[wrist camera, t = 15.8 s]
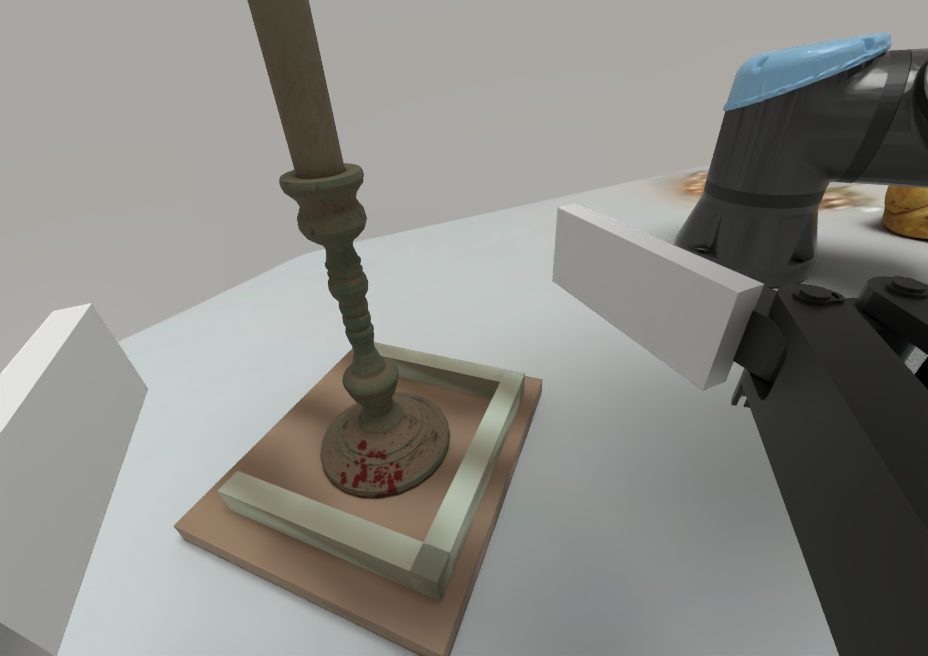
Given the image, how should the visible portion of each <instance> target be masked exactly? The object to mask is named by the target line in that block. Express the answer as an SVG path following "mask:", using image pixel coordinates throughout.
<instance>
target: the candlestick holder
mask: <svg viewBox="0 0 928 656" xmlns="http://www.w3.org/2000/svg"><path fill="white" fill-rule="evenodd" d="M248 3H249V7H250V10H251V14H252V18H253V21H254V25H255V29H256V32H257V36H258V39H259V43H260V47H261V50H262V54H263V57H264V61H265V65H266V68H267V72H268V75H269V79H270V83H271V86H272V90H273V93H274V97H275V101H276V104H277V108H278V112H279V115H280V119H281V122H282V126H283V130H284V133H285V137H286V140H287V143H288V147H289V151H290V155H291V158H292V162H293V166H294V169H295V170H292V171H290V172H287V173H285V174H284V175H282V176H281V177H280V180H279V182H280V186H281V188H282V190H283V192H284V193H285V194H287V195H288V196H290V197H291V198H293V199H294V200H295V201H297V203H298V205H299V206H300V209H299V213H298V216H297V221H298V227H299V230H300V231H301V232H302V234H303V235H304V236H305V237H306V238H307V239H308V240H310V241H312V242H315V243H317V244H320V245H323V246H324V247H325V249H326V262H325V267H326V269H328V272H327V274H328V276H329V280H328V287H329V291H330V292H331V294H332V296H333V297H334V298H335V299H336V300H337V301H338V302H339V309H340V311H341V313H342V315H343V317H342V318H343V323H344V325H345V327H346V331H345V333H346V335H347V337H348V340H349V342H350V343H351V345H352V347H353V351H354V352H353V362H352V364H350V365H349V366H348V368H347V369H346V370H345V372H344V374H343V380H342V383H343V386H344V388H345V389H346V391H347V392H348V393H349V395H350V396H351V397H352V398H353V399H354V401H355V402H356V404H354V405H352V406H350V407H348V408H347V409H346V410H345V411H344V412H342V413H341V414H340V415H339V416H338V417H337V418H336V419H335V420H334V421H333V423H332V424H331V425H330V426H329V428H328V429H327V431H326V434H325V436H324V438H323V440H322V445H321V453H320V458H321V462H322V466H323V471H324V473H325V474H326V476H327V477H328V478H329V480H330V481H331V483H332V484H334V485H335V486H337V487H338V488H339V489H341V490H342V491H344V492H345V493H349V494H352V495H355V496H359V497H369V498H381V497H386V496H391V495H396V494H400V493H402V492H404V491H406V490H409V489H411V488H413V487H415V486H417V485H418V484H420V483H421V482H422V481H424V480H425V479H426V478H428V477H429V476H431V475H432V473H433V472H434V471H435V470H436V469H437V467H438V466H439V465H440V464H441V463H442V461H443V459H444V456H445V454H446V452H447V450H448V447H449V440H450V431H449V426H448V422H447V419H446V417H445V416H444V414H443V412H442V411H441V409H440V408H439V407H438V406H437V405H435V404H434V403H433V402H432V401H431V400H428V399H426V398H424V397H422V396H420V395H416V394H411V393H406V392H395V391H396V387H397V383H398V375H399V372H398V367H397V365H396V364H395V362H393V361H392V360H391V359H389V358H387V357H384V356H381V355H380V354H379V352H378V351H377V349H376V347H375V346H374V332H373V331H374V326H373V325H372V323H371V316H370V313H369V311H368V302H367V299H366V298H365V295H366V293H367V291H368V280H367V277H366V275H365V273H364V272H363V271H362V270H363V268H362V266H361V265H360V262H361V258H360V257H359V256H358V255H357V253H356V251H355V249H354V247H353V240H354V239H355V238H357V237H358V236H359V234H360V233H361V232H362V231H363V230H364V228H365V224H366V220H367V217H366V213H365V210H364V207H363V206H362V205H361V204H360V203H359V202H358V200H357V199H356V193H357V191H358V189H359V187H360V186H361V184H362V183H363V176H364V173H363V170H362V169H361V167H360V166H358V165H355V164H347V163H346V164H345V163H343V159H342V155H341V150H340V145H339V140H338V136H337V131H336V126H335V122H334V117H333V112H332V107H331V103H330V98H329V93H328V89H327V84H326V80H325V75H324V70H323V65H322V61H321V56H320V51H319V47H318V42H317V37H316V33H315V28H314V23H313V19H312V14H311V9H310V5H309V0H248Z"/></svg>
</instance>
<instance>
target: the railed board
mask: <svg viewBox="0 0 928 656" xmlns="http://www.w3.org/2000/svg"><path fill="white" fill-rule="evenodd" d="M374 346H375V347H376V349H377V351H378V352H379V354H380V355H381V356H384V357H387V358H389V359H391V360H392V361H393V362H395V364H396V365H397V367H398V372H399V375H398V383H397V387H396V391H395V392H406V393H411V394H416V395H420V396H422V397H424V398H426V399H428V400H431V401H432V402H433V403H434V404H435V405H437V406H438V407H439V408H440V409H441V411H442V412H443V414H444V416H445V417H446V419H447V422H448V426H449V431H450V440H449V447H448V450H447V452H446V454H445V456H444V459H443V461H442V463H441V464H440V465H439V466H438V467H437V469H436V470H435V471H434V472H433V473H432V475H431V476H429V477H428V478H426V479H425V480H424V481H422V482H421V483H420V484H418V485H417V486H415V487H413V488H411V489H409V490H406V491H404V492H402V493H400V494H396V495H391V496H386V497H381V498H369V497H359V496H355V495H352V494H349V493H345V492H344V491H342V490H341V489H339V488H338V487H337V486H335V485H334V484H332V483H331V481H330V480H329V478H328V477H327V476H326V474H325V473H324V471H323V466H322V462H321V458H320V453H321V445H322V440H323V438H324V436H325V434H326V431H327V429H328V428H329V426H330V425H331V424H332V423H333V421H334V420H335V419H336V418H337V417H338V416H339V415H340V414H341V413H342V412H344V411H345V410H346V409H347V408H348V407H350V406H352V405H354V404H356V402H355V401H354V399H353V398H352V397H351V396H350V395H349V393H348V392H347V391H346V389H345V388H344V386H343V383H342V380H343V374H344V372H345V370H346V369H347V368H348V366H349V365H350V364H352V362H353V352H354V351H353V349H352V350H351V351H350V352H349V353H347V354H346V355H345V356H344V357H343V358H342V359H341V360H340V361H339V362H338V363H337V364H336V365H335V366H334V367H333V368H332V369H331V370H330V371H329V372H328V373H327V374H326V375H325V376H324V377H323V378H322V379H321V380H320V381H319V382H318V383H317V384H316V385H315V386H314V387H313V388H312V389H311V390H310V391H309V392H308V393H307V394H306V395H305V396H304V397H303V398H302V399H301V400H300V401H299V402H298V403H297V404H296V405H295V406H294V407H293V408H292V409H291V410H290V411H289V412H288V413H287V414H286V415H285V416H284V417H283V418H282V419H281V420H280V421H279V422H278V423H277V424H276V425H275V426H274V427H273V428H272V429H271V430H270V431H269V432H268V433H267V434H266V435H265V436H264V437H263V438H262V439H261V440H260V441H259V442H258V443H257V444H256V445H255V446H254V447H253V448H252V449H251V450H250V451H249V452H248V453H247V454H246V455H245V456H244V457H243V458H242V459H241V460H240V461H239V462H238V463H237V464H236V465H235V466H233V467H232V468H231V469H230V470H229V471H228V472H227V473H226V474H225V475H224V476H223V477H222V478H221V479H220V480H219V481H218V482H217V483H216V484H215V485H214V486H213V487H212V488H211V489H210V490H209V491H208V492H207V493H206V494H205V495H204V496H203V497H202V498H201V499H200V500H199V501H198V502H197V503H196V504H195V505H194V506H193V507H192V508H191V509H190V510H189V511H188V512H187V513H186V514H185V515H184V516H183V517H182V518H181V519H180V520H179V521H178V522H177V523H176V524H175V525H174V527H175V529H176V530H177V531H178V532H179V533H180V535H181V536H182V537H183V538H184V539H185V540H187V541H189V542H191V543H193V544H195V545H197V546H199V547H201V548H203V549H205V550H207V551H209V552H211V553H213V554H215V555H217V556H219V557H221V558H223V559H225V560H227V561H229V562H231V563H233V564H235V565H237V566H240V567H242V568H244V569H246V570H248V571H250V572H252V573H254V574H256V575H258V576H260V577H262V578H264V579H266V580H268V581H270V582H272V583H274V584H276V585H278V586H280V587H282V588H284V589H286V590H288V591H290V592H292V593H294V594H296V595H298V596H301V597H303V598H305V599H307V600H309V601H311V602H313V603H315V604H317V605H319V606H321V607H323V608H325V609H327V610H329V611H331V612H333V613H335V614H337V615H339V616H341V617H343V618H345V619H347V620H349V621H351V622H353V623H355V624H357V625H359V626H362V627H364V628H366V629H368V630H370V631H372V632H374V633H376V634H378V635H380V636H382V637H384V638H386V639H388V640H390V641H392V642H394V643H396V644H398V645H400V646H402V647H404V648H406V649H408V650H410V651H412V652H414V653H416V654H418V655H420V656H450V653H451V650H452V647H453V644H454V641H455V639H456V636H457V633H458V630H459V627H460V624H461V621H462V619H463V616H464V613H465V610H466V607H467V604H468V601H469V599H470V596H471V593H472V590H473V587H474V584H475V581H476V579H477V576H478V573H479V570H480V567H481V564H482V561H483V559H484V556H485V553H486V550H487V547H488V544H489V541H490V539H491V536H492V533H493V530H494V527H495V524H496V521H497V518H498V516H499V513H500V510H501V507H502V504H503V501H504V498H505V496H506V493H507V490H508V487H509V484H510V481H511V478H512V476H513V473H514V470H515V467H516V464H517V461H518V458H519V456H520V453H521V450H522V447H523V444H524V441H525V438H526V436H527V433H528V430H529V427H530V424H531V421H532V418H533V416H534V413H535V410H536V407H537V404H538V401H539V398H540V396H541V392H542V379H537V378H533V377H528V376H525V374H524V373H519V372H515V371H510V370H505V369H500V368H495V367H491V366H486V365H481V364H476V363H471V362H467V361H462V360H457V359H452V358H447V357H443V356H438V355H433V354H428V353H423V352H419V351H414V350H409V349H404V348H399V347H395V346H390V345H385V344H380V343H375V342H374Z"/></svg>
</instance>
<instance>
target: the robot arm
mask: <svg viewBox="0 0 928 656" xmlns="http://www.w3.org/2000/svg"><path fill="white" fill-rule="evenodd" d="M890 38H891V35H890V33H877V34H869V35H863V36H856V37H851V38H843V39H836V40H830V41H825V42H819V43H813V44H808V45H802V46H797V47H791V48H786V49H781V50H776V51H771V52H766V53H762V54H758V55H756V56H753V57H751V58H750V59H748V60H747V61H746V62H744V63H743V65H742V66H741V67H740V68H739V70H738V71H737V73H736V76H735V79H734V82H733V85H732V88H731V91H730V94H729V98H728V101H727V103H726V104H725V105H724V108H723V110H724V111H725V115H724V118H723V122H722V125H721V129H720V132H719V136H718V140H717V143H716V147H715V151H714V154H713V158H712V161H711V165H710V168H709V172H708V176H707V180H706V183H705V187H704V191H703V194H702V196H701V198H700V200H699V202H698V203H697V205H696V206H695V208H694V209H693V211H692V212H691V214H690V216H689V217H688V219H687V220H686V222H685V223H684V225H683V227H682V228H681V230H680V231H679V233H678V234H677V237H676V240H675V244H674V245H672V244H670V243H668V242H665V241H663V240H661V239H658V238H656V237H654V236H651V235H649V234H647V233H644V232H642V231H640V230H637V229H635V228H633V227H631V226H628V225H626V224H624V223H621V222H619V221H617V220H614V219H612V218H610V217H607V216H605V215H603V214H600V213H598V212H596V211H593V210H591V209H589V208H586V207H584V206H582V205H579V204H577V203H576V204H572V205H567V206H562V207H558V210H557V224H556V238H555V252H554V266H553V280H552V281H553V282H555V283H556V284H557V285H559V286H560V287H562V288H563V289H564V290H566V291H567V292H568V293H570V294H571V295H572V296H574V297H575V298H577V299H578V300H579V301H581V302H582V303H583V304H585V305H586V306H588V307H589V308H590V309H592V310H593V311H594V312H596V313H597V314H599V315H600V316H601V317H603V318H604V319H605V320H607V321H608V322H609V323H611V324H612V325H614V326H615V327H616V328H618V329H619V330H620V331H622V332H623V333H625V334H626V335H627V336H629V337H630V338H631V339H633V340H634V341H636V342H637V343H638V344H640V345H641V346H642V347H644V348H645V349H646V350H648V351H649V352H651V353H652V354H653V355H655V356H656V357H657V358H659V359H660V360H662V361H663V362H664V363H666V364H667V365H668V366H670V367H671V368H673V369H674V370H675V371H677V372H678V373H679V374H681V375H682V376H683V377H685V378H686V379H688V380H689V381H690V382H692V383H693V384H694V385H696V386H697V387H699V388H700V389H701V390H706V389H708V388H710V387H713V386H715V385H718V384H720V383H723V382H725V381H726V379H727V376H728V374H729V371H730V369H731V366H732V364H733V361H734V362H736V363H738V364H739V365H741V366H742V367H744V371H743V373H742V375H741V378H740V380H739V382H738V385H737V387H736V390H735V392H734V394H733V397H732V402H731V405H735V406H737V403H738V401H739V399H740V397H742V396H746V397H747V399H746V401H745V404H744V407H748V408H751V411H752V414H753V417H754V420H755V422H756V425H757V428H758V431H759V433H760V436H761V439H762V442H763V445H764V447H765V450H766V453H767V456H768V459H769V461H770V464H771V467H772V470H773V472H774V475H775V478H776V481H777V484H778V486H779V489H780V492H781V495H782V498H783V500H784V503H785V506H786V509H787V511H788V514H789V517H790V520H791V523H792V525H793V528H794V531H795V534H796V536H797V539H798V542H799V545H800V548H801V550H802V553H803V556H804V559H805V562H806V564H807V567H808V570H809V573H810V575H811V578H812V581H813V584H814V587H815V589H816V592H817V595H818V598H819V601H820V603H821V606H822V609H823V612H824V614H825V617H826V620H827V623H828V626H829V628H830V631H831V634H832V637H833V640H834V642H835V645H836V648H837V651H838V653H839V656H928V357H927V358H926V360H925V361H924V362H923V364H922V365H921V366H920V368H919V369H918V370H917V372H916V373H915V375H914V374H913V373H912V371H911V370H910V369H909V368H908V367H907V366H906V365H905V364H904V363H905V361H906V360H907V358H908V357H909V355H910V354H911V353H912V351H913V350H914V348H915V347H917V348H919V349H920V350H922V351H923V352H924V353H926V354H927V355H928V285H927V284H924V283H921V282H919V281H916V280H914V279H911V278H904V277H898V276H894V277H875V278H872V279H870V280H868V281H867V283H866V285H865V286H864V288H863V290H862V292H861V294H860V295H859V297H858V298H848V299H846V298H844V297H843V296H842V295H841V294H839V293H837V292H833V291H831V290H828V289H825V288H821V287H818V286H812V285H805V284H796V283H799V282H801V281H803V280H805V279H806V278H807V277H808V275H809V273H810V271H811V269H812V267H813V264H814V262H815V260H816V255H817V224H818V208H819V205H820V202H821V200H822V198H823V195H824V193H825V190H826V188H827V186H828V184H829V183H830V182H845V183H862V184H876V185H891V186H905V187H919V188H928V49H910V50H894V51H893V50H892V51H887V50H888V49H890V46H891V44H892V43H891V41H890V40H891V39H890ZM768 287H780V288H779V289H778V290H777V291H775V290H773V289H771V288H768ZM147 390H148V388H147V386H146V385H145V383H144V382H143V380H142V379H141V377H140V376H139V374H138V373H137V371H136V370H135V368H134V367H133V365H132V364H131V362H130V361H129V359H128V358H127V356H126V354H125V353H124V351H123V350H122V348H121V347H120V345H119V344H118V342H117V341H116V339H115V338H114V336H113V335H112V333H111V332H110V330H109V329H108V328H107V326H106V324H105V323H104V321H103V319H102V318H101V316H100V315H99V314H98V312H97V310H96V309H95V307H94V306H93V304H92V303H90V304H86V305H81V306H77V307H71V308H67V309H61V310H56V311H53V312H52V313H51V314H50V315H49V317H48V318H47V319H46V320H45V321H44V323H43V324H42V325H41V326H40V327H39V328H38V330H37V331H36V332H35V333H34V334H33V336H32V337H31V338H30V339H29V340H28V342H27V343H26V344H25V345H24V347H23V348H22V349H21V350H20V351H19V352H18V354H17V355H16V356H15V357H14V358H13V359H12V361H11V362H10V363H9V364H8V366H7V367H6V368H5V369H4V370H3V372H2V373H1V374H0V656H57V653H58V650H59V647H60V644H61V641H62V639H63V636H64V633H65V630H66V627H67V624H68V621H69V618H70V615H71V612H72V609H73V606H74V603H75V601H76V598H77V595H78V592H79V589H80V586H81V583H82V580H83V577H84V574H85V571H86V568H87V566H88V563H89V560H90V557H91V554H92V551H93V548H94V545H95V542H96V539H97V536H98V533H99V531H100V528H101V525H102V522H103V519H104V516H105V513H106V510H107V507H108V504H109V501H110V498H111V495H112V493H113V490H114V487H115V484H116V481H117V478H118V475H119V472H120V469H121V466H122V463H123V460H124V458H125V455H126V452H127V449H128V446H129V443H130V440H131V437H132V434H133V431H134V428H135V425H136V422H137V420H138V417H139V414H140V411H141V408H142V405H143V402H144V399H145V396H146V393H147Z"/></svg>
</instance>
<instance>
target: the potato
mask: <svg viewBox="0 0 928 656" xmlns="http://www.w3.org/2000/svg"><path fill="white" fill-rule="evenodd" d="M884 204H885V209H884V214H883V218H882V220H883V223H884V226H885V227H886V228H888V229H889V230H891V231H892V232H894V233H897V234H900V235H904V236H908V237H913V238H922V239H928V188H919V187H905V186H891V185H889V186H888V189H887V192H886V195H885V202H884Z"/></svg>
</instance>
